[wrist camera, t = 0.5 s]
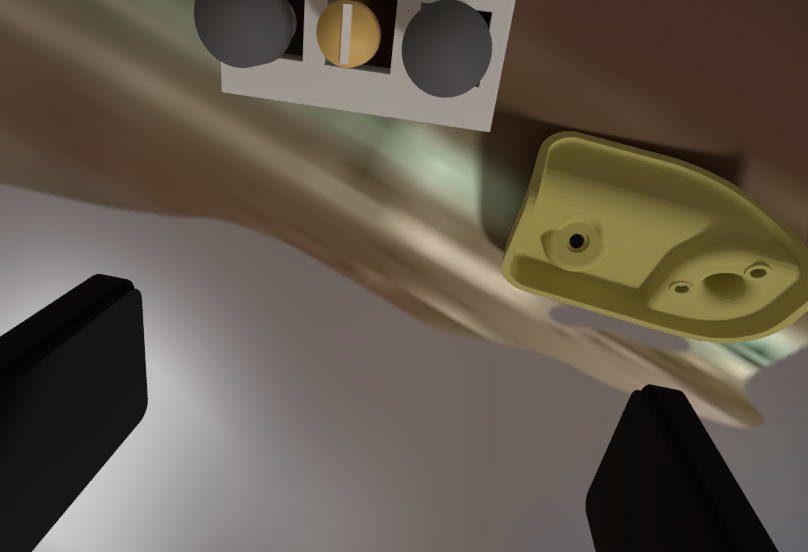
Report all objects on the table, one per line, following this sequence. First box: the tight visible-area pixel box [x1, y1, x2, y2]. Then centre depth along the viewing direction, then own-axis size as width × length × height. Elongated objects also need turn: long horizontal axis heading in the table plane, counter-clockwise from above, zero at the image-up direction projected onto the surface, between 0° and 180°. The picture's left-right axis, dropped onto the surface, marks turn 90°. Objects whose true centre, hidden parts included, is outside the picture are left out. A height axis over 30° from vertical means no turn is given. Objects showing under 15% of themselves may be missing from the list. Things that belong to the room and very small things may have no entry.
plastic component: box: [501, 131, 808, 343], centre depth 40 cm, size 20×8×10 cm
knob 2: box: [402, 0, 492, 98], centre depth 32 cm, size 5×5×6 cm
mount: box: [221, 0, 515, 132], centre depth 36 cm, size 10×19×4 cm, turn 83°
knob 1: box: [194, 0, 297, 68], centre depth 33 cm, size 5×5×6 cm
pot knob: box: [316, 0, 381, 68], centre depth 33 cm, size 4×4×5 cm
